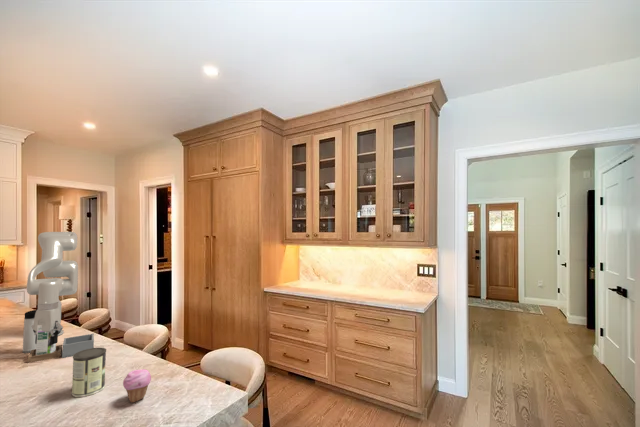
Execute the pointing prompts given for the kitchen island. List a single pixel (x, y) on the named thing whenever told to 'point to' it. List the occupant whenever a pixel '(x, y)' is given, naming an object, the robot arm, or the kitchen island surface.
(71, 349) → the bin
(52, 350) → the syrup box
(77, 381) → the coffee can
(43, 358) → the socket collar
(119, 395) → the kitchen island surface
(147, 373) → the cupcake
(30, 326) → the travel mug
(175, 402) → the kitchen island surface
